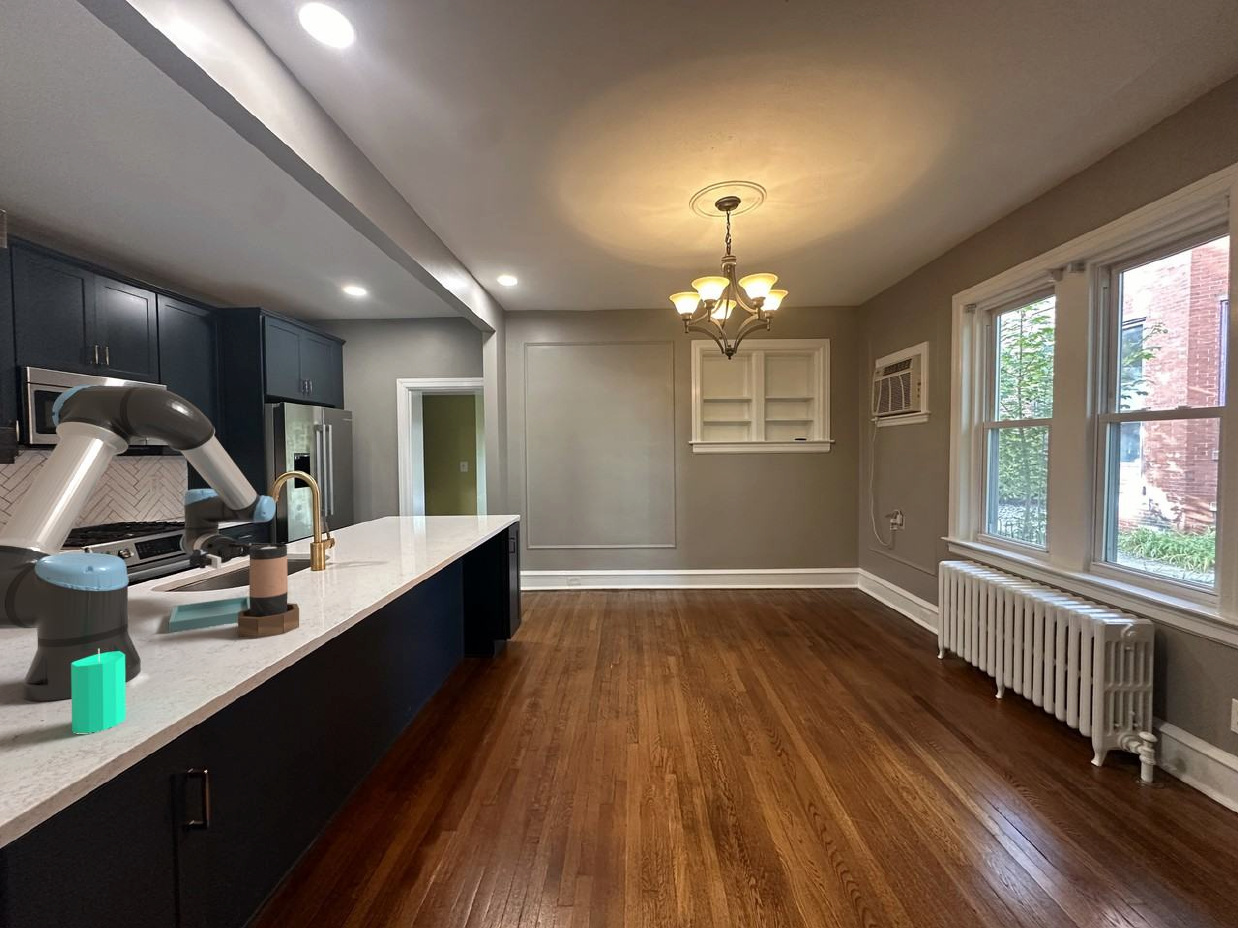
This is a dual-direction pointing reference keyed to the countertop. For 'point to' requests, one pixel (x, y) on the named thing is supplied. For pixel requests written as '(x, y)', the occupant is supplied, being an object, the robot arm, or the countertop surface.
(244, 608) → the slate tray
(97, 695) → the candle
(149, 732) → the countertop surface
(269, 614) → the travel mug
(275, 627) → the walnut collar
